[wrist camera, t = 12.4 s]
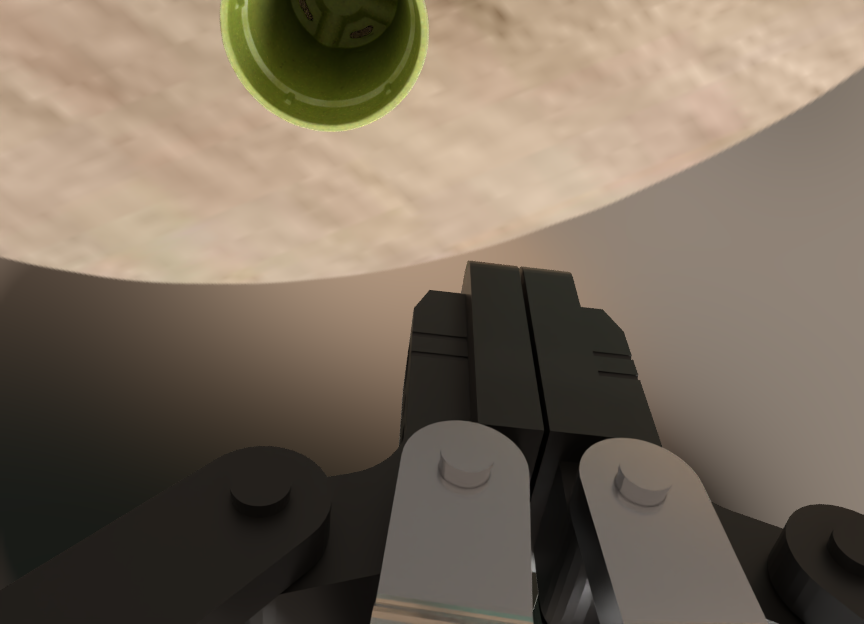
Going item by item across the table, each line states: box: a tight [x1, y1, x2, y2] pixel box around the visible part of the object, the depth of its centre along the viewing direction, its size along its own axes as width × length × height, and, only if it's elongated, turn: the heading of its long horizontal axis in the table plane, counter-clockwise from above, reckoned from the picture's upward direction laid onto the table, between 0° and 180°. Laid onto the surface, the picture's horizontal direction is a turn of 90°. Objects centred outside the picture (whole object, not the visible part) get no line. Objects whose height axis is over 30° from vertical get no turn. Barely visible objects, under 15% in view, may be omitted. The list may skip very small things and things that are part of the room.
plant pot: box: [220, 0, 429, 132], centre depth 38 cm, size 9×9×9 cm
